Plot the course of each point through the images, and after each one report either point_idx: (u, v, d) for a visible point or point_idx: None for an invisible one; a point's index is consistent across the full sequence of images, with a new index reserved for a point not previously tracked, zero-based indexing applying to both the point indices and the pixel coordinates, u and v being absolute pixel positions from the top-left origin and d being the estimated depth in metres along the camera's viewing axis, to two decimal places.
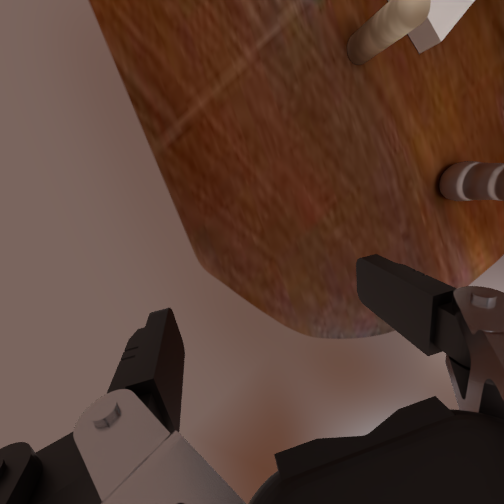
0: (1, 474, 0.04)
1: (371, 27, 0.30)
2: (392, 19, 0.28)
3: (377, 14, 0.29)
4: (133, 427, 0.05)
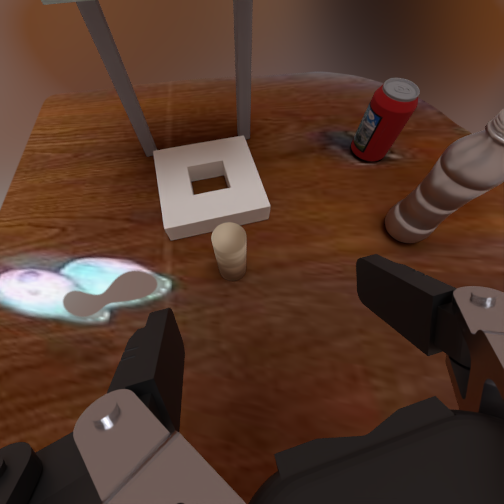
0: (1, 474, 0.04)
1: (222, 265, 0.31)
2: (227, 256, 0.28)
3: (216, 258, 0.31)
4: (133, 427, 0.05)
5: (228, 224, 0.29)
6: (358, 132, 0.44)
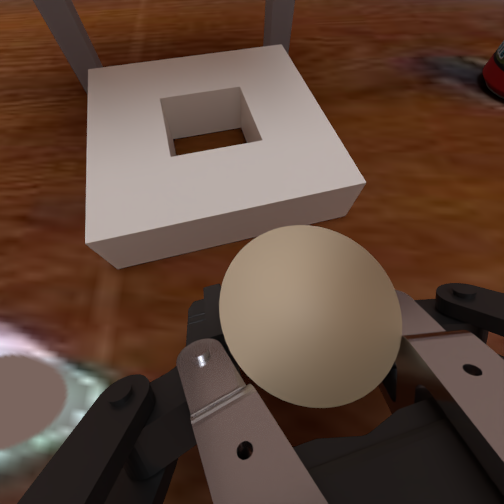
0: (130, 394, 0.06)
1: None
2: None
3: None
4: (228, 361, 0.06)
5: (298, 235, 0.06)
6: None
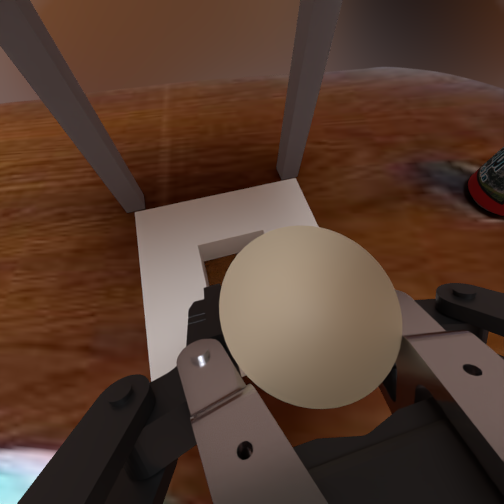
0: (130, 394, 0.06)
1: None
2: None
3: None
4: (228, 361, 0.06)
5: (298, 235, 0.06)
6: (497, 170, 0.25)
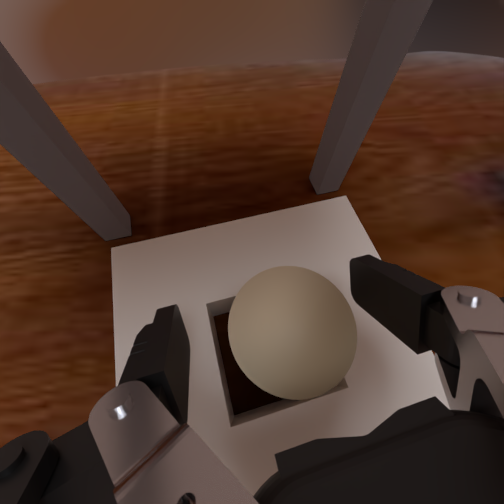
0: (21, 460, 0.05)
1: None
2: None
3: None
4: (147, 416, 0.05)
5: (285, 273, 0.08)
6: None
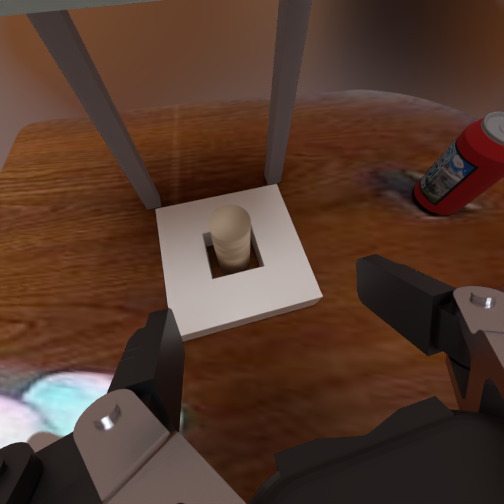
0: (1, 474, 0.04)
1: (222, 257, 0.26)
2: (227, 245, 0.23)
3: (215, 249, 0.26)
4: (133, 427, 0.05)
5: (229, 206, 0.24)
6: (430, 179, 0.33)
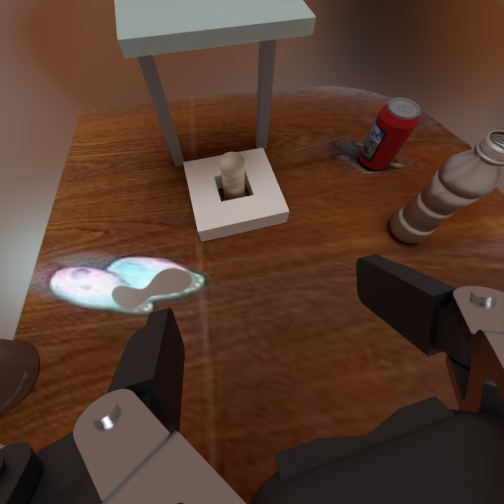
0: (1, 474, 0.04)
1: (227, 187, 0.43)
2: (231, 174, 0.40)
3: (223, 181, 0.43)
4: (133, 427, 0.05)
5: (231, 153, 0.40)
6: (365, 144, 0.49)
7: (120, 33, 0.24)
